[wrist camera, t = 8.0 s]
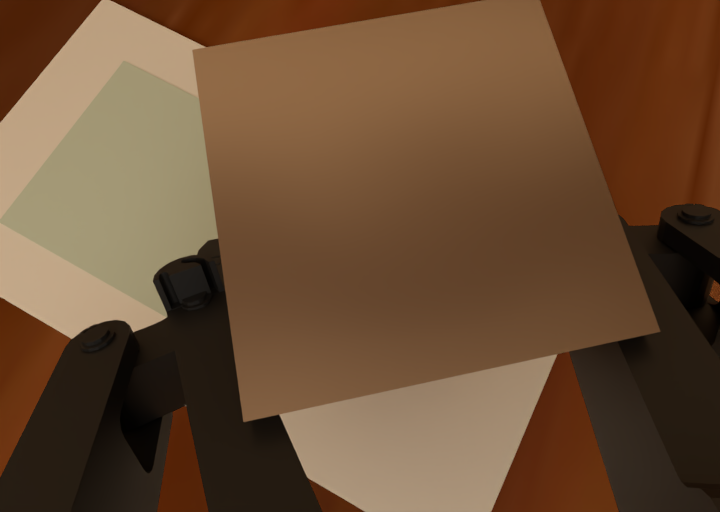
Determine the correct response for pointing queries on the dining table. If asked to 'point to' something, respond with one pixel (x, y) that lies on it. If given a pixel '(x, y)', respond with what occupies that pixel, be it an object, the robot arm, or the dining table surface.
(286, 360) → the walnut block
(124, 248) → the board
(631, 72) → the dining table surface
